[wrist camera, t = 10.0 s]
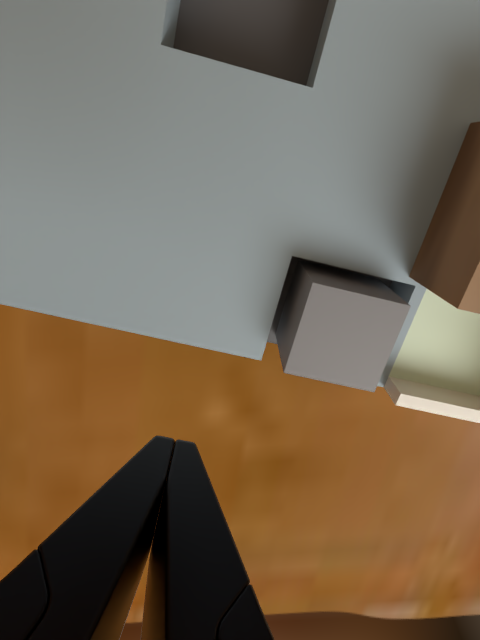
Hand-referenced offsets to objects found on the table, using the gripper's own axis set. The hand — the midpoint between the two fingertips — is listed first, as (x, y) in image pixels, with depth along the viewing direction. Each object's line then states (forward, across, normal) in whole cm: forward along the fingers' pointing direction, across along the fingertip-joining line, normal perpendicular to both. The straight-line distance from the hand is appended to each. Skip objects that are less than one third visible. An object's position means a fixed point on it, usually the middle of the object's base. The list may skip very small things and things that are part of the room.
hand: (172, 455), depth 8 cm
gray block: (+12, -6, 0) cm, 13 cm away
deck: (+12, -3, -6) cm, 14 cm away
